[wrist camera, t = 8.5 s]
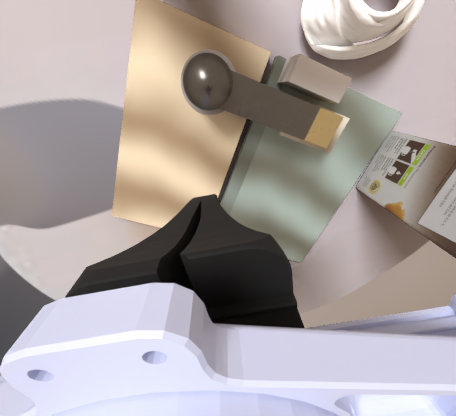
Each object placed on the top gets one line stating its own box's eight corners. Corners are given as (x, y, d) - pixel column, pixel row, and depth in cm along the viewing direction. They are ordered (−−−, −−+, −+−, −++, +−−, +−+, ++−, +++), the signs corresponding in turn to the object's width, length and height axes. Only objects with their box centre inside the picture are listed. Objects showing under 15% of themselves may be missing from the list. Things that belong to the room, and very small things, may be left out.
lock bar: (183, 98, 17) (177, 100, 14) (194, 51, 15) (189, 43, 13) (311, 146, 19) (327, 155, 16) (331, 108, 18) (351, 112, 15)
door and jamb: (298, 257, 27) (310, 281, 24) (115, 210, 23) (97, 232, 19) (393, 112, 19) (433, 117, 16) (141, -5, 15) (118, -34, 11)
